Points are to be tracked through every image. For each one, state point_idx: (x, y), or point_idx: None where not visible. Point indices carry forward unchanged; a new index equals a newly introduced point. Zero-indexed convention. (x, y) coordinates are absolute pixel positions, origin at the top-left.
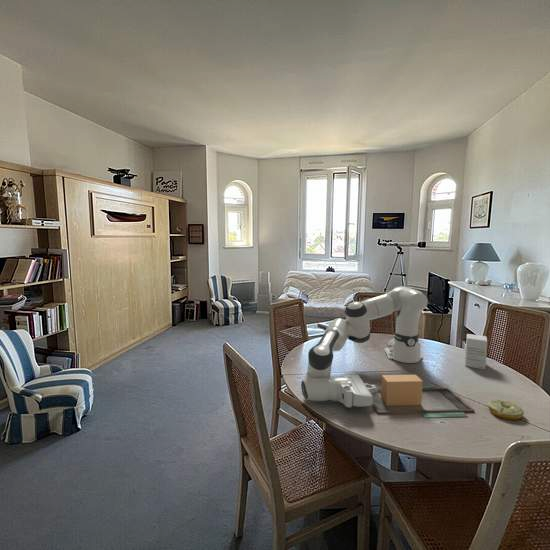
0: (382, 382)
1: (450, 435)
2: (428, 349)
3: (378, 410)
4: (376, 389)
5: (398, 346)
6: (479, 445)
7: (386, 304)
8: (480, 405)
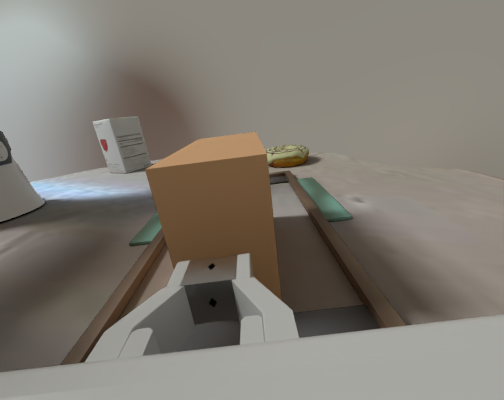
0: (177, 217)
1: (428, 196)
2: None
3: None
4: (252, 269)
5: None
6: (434, 177)
7: None
8: None
